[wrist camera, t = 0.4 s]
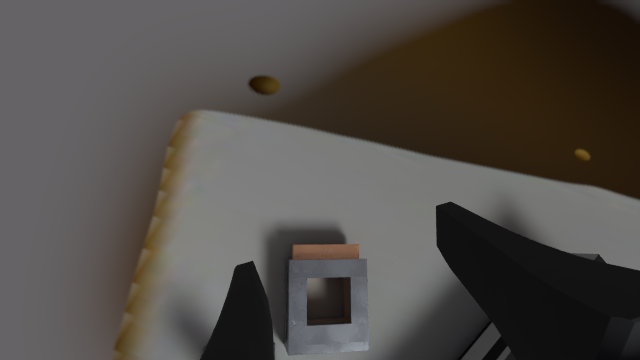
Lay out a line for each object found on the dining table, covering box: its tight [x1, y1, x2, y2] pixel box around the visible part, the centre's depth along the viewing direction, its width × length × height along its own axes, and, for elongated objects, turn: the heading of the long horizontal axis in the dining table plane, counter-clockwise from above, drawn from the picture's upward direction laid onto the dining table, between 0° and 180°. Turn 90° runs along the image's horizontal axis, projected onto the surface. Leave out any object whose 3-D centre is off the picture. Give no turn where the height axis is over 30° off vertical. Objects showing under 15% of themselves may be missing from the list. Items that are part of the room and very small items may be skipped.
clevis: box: [284, 244, 369, 355], centre depth 38 cm, size 10×8×4 cm
